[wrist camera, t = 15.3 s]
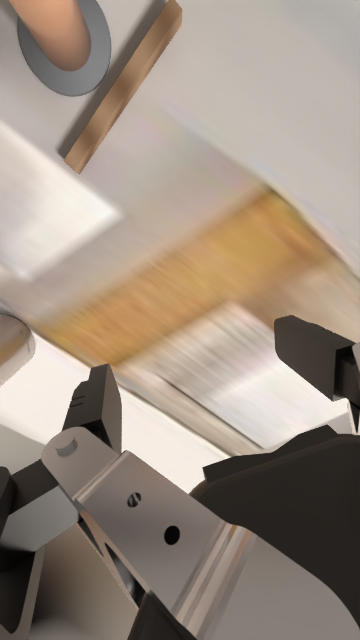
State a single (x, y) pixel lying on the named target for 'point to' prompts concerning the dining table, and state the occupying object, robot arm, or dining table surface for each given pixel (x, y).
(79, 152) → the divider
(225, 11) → the dining table surface
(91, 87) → the coaster
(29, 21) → the peach cylinder
